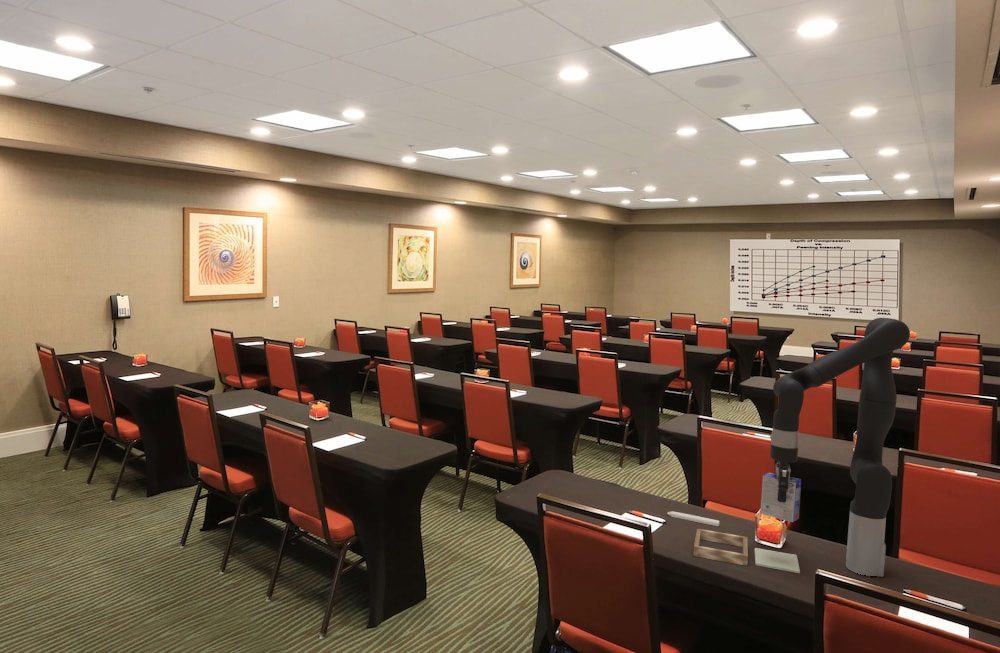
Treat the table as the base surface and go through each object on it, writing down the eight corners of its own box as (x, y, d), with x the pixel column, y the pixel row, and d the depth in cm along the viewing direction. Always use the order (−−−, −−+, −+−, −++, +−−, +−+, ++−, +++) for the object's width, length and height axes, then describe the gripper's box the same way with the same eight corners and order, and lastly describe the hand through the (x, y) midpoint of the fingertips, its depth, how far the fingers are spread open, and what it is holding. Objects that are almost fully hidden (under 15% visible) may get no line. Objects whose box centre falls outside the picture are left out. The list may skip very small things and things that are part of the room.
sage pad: (796, 556, 189) (796, 555, 189) (799, 573, 178) (800, 571, 178) (754, 549, 193) (754, 547, 193) (755, 565, 182) (755, 563, 182)
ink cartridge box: (799, 518, 183) (802, 471, 182) (794, 523, 179) (797, 475, 178) (765, 509, 190) (768, 464, 189) (759, 514, 186) (762, 467, 185)
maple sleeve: (746, 546, 196) (747, 537, 195) (747, 565, 181) (747, 556, 181) (696, 537, 201) (697, 528, 201) (693, 555, 187) (693, 546, 187)
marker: (666, 516, 219) (666, 510, 219) (667, 515, 221) (667, 508, 221) (718, 527, 211) (718, 521, 211) (719, 525, 213) (719, 519, 213)
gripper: (800, 451, 175) (796, 507, 176) (796, 440, 188) (792, 492, 189) (772, 447, 178) (768, 503, 179) (769, 437, 191) (766, 489, 192)
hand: (780, 497), depth 184 cm, fingers closed on ink cartridge box, 6 cm apart
